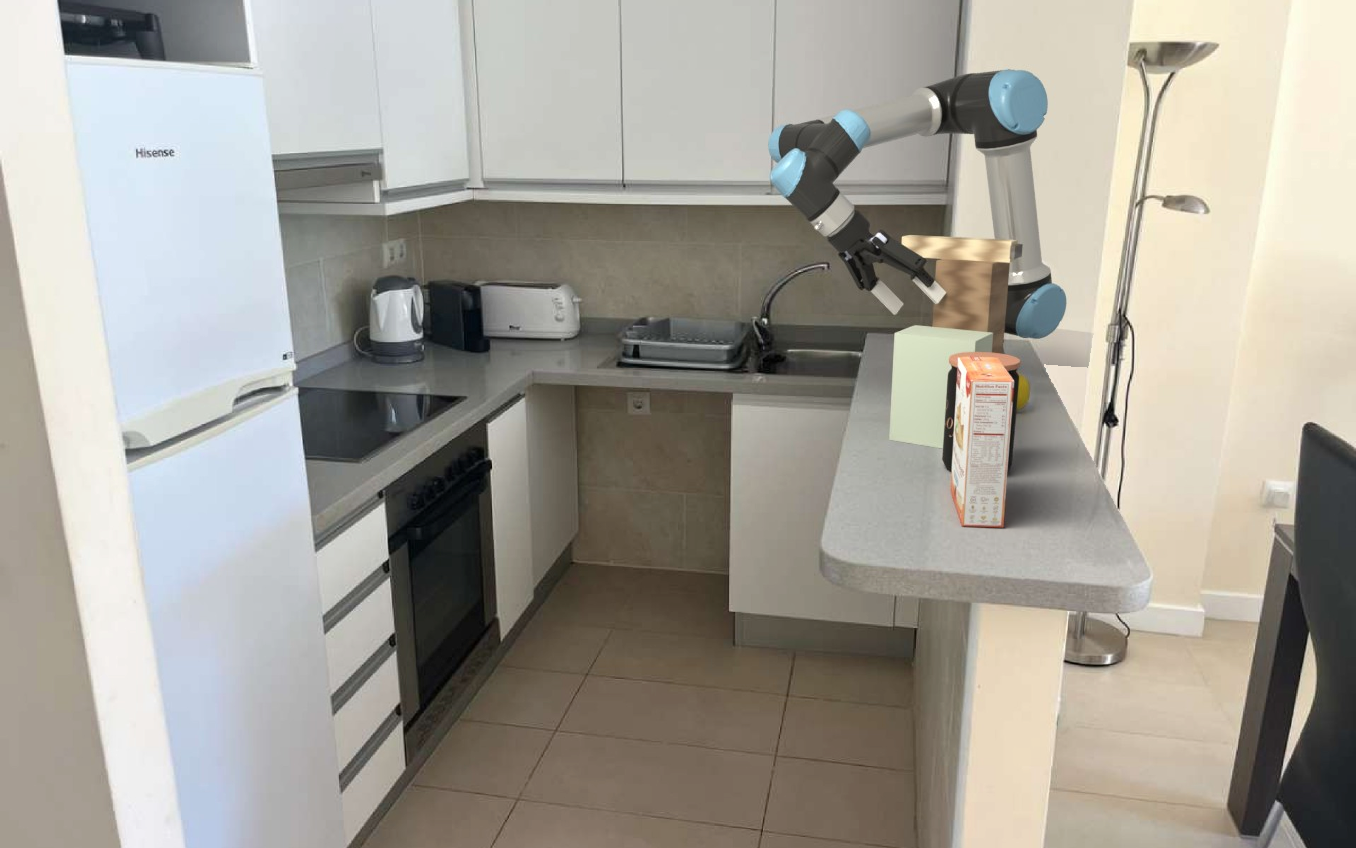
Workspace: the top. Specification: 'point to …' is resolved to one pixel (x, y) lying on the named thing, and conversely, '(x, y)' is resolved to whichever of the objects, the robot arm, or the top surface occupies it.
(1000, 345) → the stand
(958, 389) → the cracker box
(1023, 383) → the lemon
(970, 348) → the pale green rectangular prism
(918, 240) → the light wooden bar
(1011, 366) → the coffee jar
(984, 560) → the top surface
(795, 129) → the robot arm
